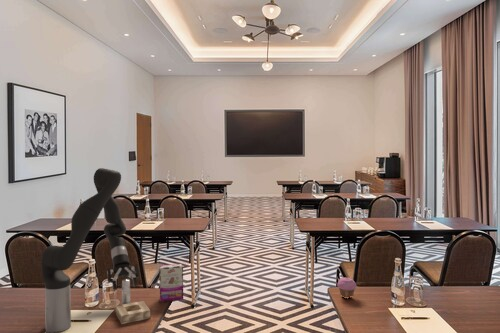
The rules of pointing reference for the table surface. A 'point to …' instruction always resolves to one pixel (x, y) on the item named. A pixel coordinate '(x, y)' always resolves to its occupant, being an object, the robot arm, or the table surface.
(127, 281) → the pin
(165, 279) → the candy bar box
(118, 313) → the socket block
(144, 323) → the table surface
